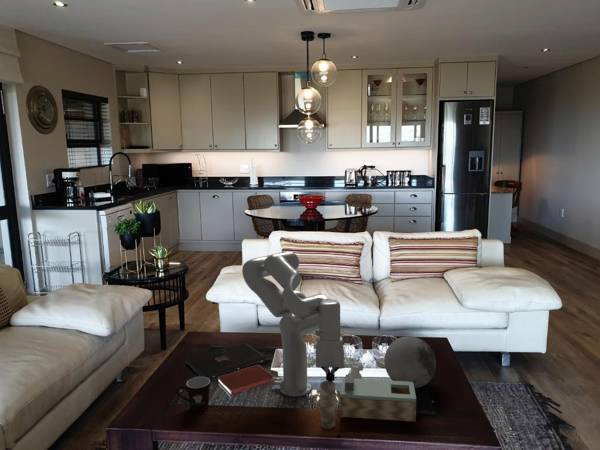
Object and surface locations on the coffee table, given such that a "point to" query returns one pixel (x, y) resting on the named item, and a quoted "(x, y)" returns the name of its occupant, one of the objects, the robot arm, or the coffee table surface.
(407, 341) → the moon model
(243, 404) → the coffee table surface
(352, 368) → the duck figurine
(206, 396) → the coffee mug
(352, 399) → the wooden box
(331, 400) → the beige tall cylinder
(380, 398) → the lid
